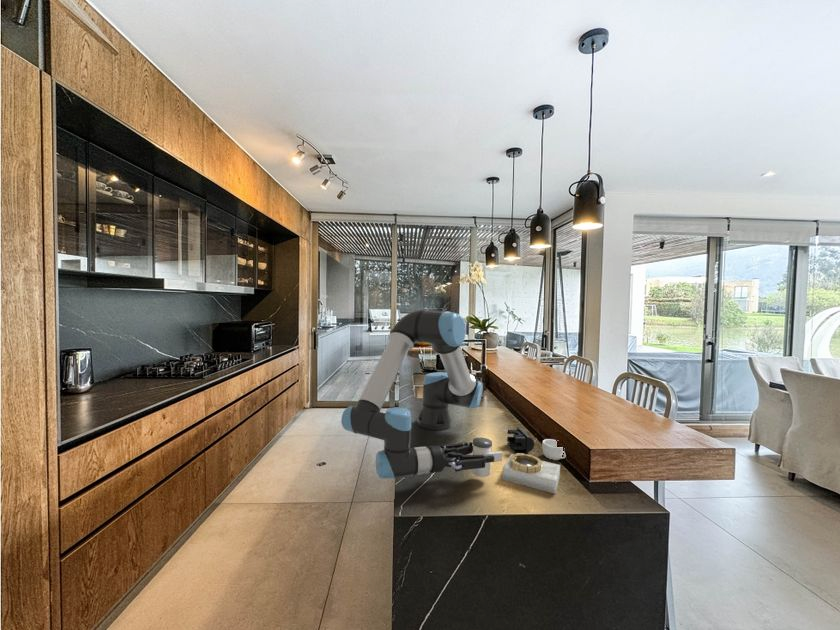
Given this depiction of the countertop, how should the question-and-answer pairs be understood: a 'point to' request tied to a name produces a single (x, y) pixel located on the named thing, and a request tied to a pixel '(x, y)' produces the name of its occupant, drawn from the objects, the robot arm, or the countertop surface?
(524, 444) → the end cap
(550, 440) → the teacup
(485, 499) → the countertop surface
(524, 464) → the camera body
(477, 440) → the telephoto lens
